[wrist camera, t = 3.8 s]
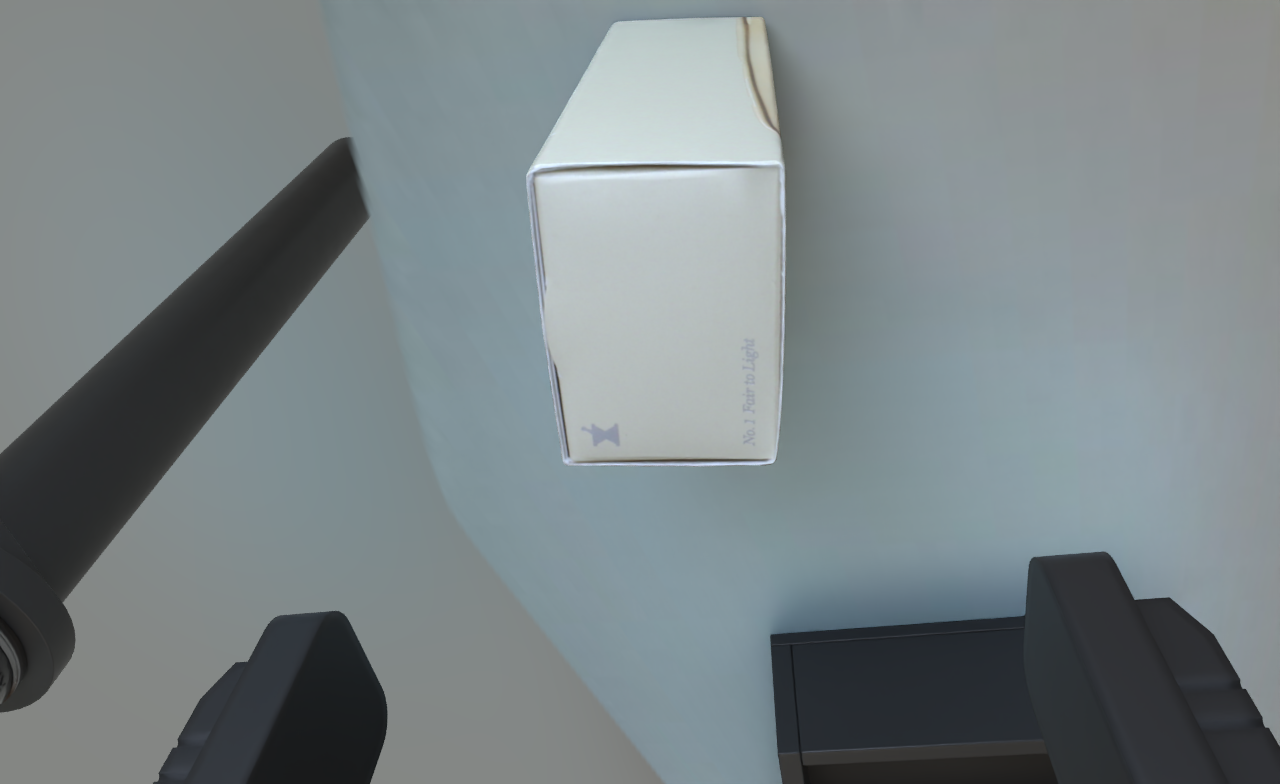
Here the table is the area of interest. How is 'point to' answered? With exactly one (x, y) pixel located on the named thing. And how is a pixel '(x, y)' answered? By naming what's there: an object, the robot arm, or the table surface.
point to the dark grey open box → (907, 706)
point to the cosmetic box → (665, 249)
